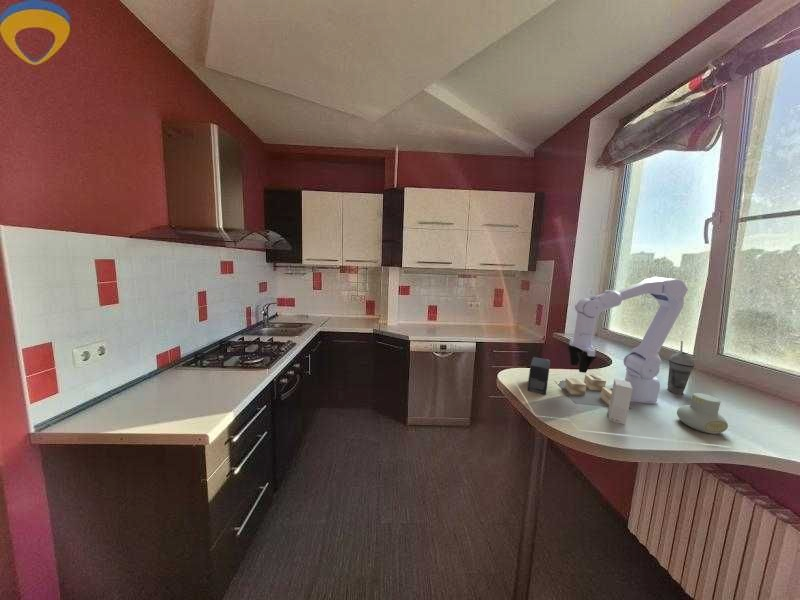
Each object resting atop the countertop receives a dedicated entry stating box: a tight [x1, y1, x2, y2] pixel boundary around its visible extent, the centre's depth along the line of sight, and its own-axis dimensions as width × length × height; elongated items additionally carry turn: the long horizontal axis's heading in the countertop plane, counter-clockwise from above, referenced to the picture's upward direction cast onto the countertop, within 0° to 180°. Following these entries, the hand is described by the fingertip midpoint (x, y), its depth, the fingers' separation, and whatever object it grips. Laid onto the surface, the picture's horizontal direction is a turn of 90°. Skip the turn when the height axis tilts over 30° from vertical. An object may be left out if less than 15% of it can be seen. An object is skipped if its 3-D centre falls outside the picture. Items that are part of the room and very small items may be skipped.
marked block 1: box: [583, 373, 607, 391], centre depth 114 cm, size 5×5×4 cm
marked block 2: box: [600, 386, 613, 405], centre depth 103 cm, size 5×5×4 cm
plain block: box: [564, 377, 587, 395], centre depth 109 cm, size 5×5×4 cm
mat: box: [558, 379, 632, 410], centre depth 109 cm, size 18×19×1 cm
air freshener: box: [676, 392, 729, 435], centre depth 90 cm, size 11×8×10 cm
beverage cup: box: [667, 340, 695, 395], centre depth 114 cm, size 7×7×20 cm
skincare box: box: [607, 378, 633, 425], centre depth 92 cm, size 6×4×12 cm
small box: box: [527, 356, 551, 396], centre depth 111 cm, size 11×6×10 cm, turn 152°
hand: (578, 368), depth 108 cm, fingers open, 6 cm apart
